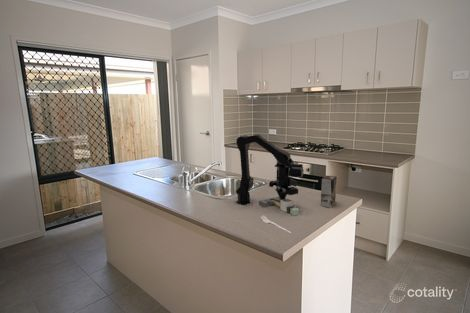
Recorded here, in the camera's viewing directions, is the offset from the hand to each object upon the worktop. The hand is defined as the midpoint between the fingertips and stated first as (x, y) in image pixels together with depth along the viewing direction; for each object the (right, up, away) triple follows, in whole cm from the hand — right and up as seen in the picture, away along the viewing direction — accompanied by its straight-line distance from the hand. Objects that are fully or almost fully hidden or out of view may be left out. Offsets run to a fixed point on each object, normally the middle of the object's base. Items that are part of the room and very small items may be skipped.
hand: (282, 202), depth 158 cm
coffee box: (+27, -3, +5) cm, 28 cm away
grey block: (+2, -4, -3) cm, 5 cm away
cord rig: (0, -4, +1) cm, 4 cm away
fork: (-7, -8, -21) cm, 24 cm away
